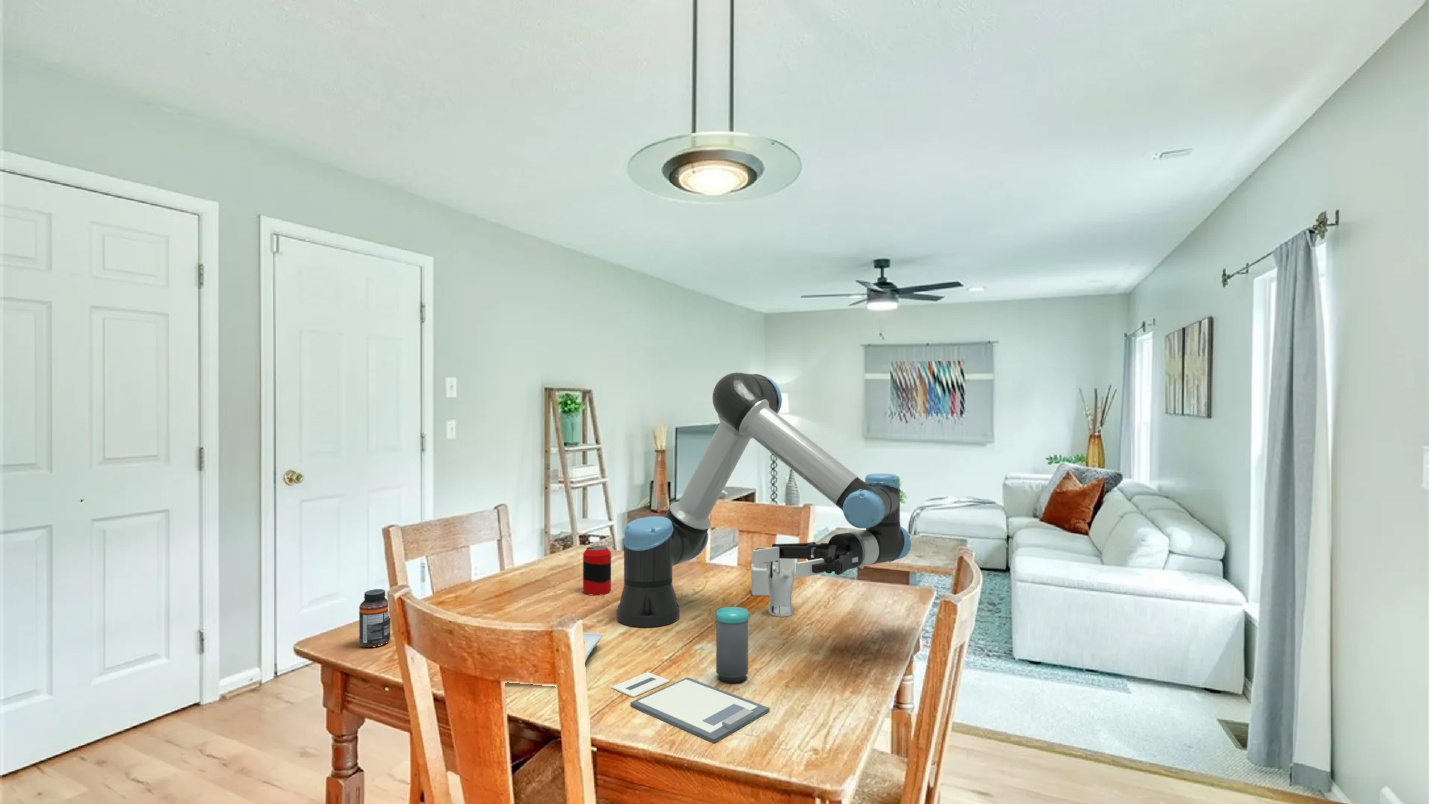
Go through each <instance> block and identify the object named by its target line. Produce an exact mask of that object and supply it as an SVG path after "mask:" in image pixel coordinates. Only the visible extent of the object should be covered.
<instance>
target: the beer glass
mask: <svg viewBox="0 0 1429 804" xmlns="http://www.w3.org/2000/svg"><path fill="white" fill-rule="evenodd" d="M795 577H796V562H795V559H781V558H779V560H778V562H775V561H771V562H767V581H768V587H769V593H770V596H769V605H768V609H767V610H768V611H767V612H768V614H769V616H773V617H779V618H780V617H781V618H784V617H791V616H792V615H793V614H794V609H793V605H792V604H793V602H792V596H793V595H792V594H793V588H794V584H795V583H794V582H795Z"/></svg>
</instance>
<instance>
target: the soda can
mask: <svg viewBox="0 0 1429 804" xmlns="http://www.w3.org/2000/svg"><path fill="white" fill-rule="evenodd" d="M582 560H583V561H582V591H583V594H585V593H586V594H585V595H587V594H593V595H592V596H601V595H600V594H603V595H607V594H609V593H610V592H611V591H612V552H611V550H610V549H609V548H608V547H607V546H604V545H593V546H589V547H587V548H586V549H585V551H584V552H583V553H582Z"/></svg>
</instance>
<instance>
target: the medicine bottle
mask: <svg viewBox="0 0 1429 804" xmlns="http://www.w3.org/2000/svg"><path fill="white" fill-rule="evenodd" d="M765 548H767V547H764V546H763V547H757V548H754V550H758V549H765ZM750 589H751V596H752V597H754V596H755V597H762V596H763V597H766V596H767V597H770V593H769V587H768V581H767V562H765V563H759V564H752V563H750Z"/></svg>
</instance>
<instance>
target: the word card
mask: <svg viewBox="0 0 1429 804" xmlns="http://www.w3.org/2000/svg"><path fill="white" fill-rule="evenodd" d="M670 682H671V680H670V679H667V678H665V677H662V676H659V675H658V674H657V675H656V674H654V673H651V672H649V671H647V672H645V673H642V674H640V675H637V676H635V677H632V678H630V679H628V680H624V681H623V682H619V683H617V684H615V685H612V686H611V689H613V690H615V691H617V692H620V693H622V694H624V695H627V696H629V697H631V698H636V697H638V696H641V695H642V694H643V695H644V694H646V693H648V692H649V691H652V690H655V689H656V688H659V687H662V686H663V685H666V684H668V683H670Z"/></svg>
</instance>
